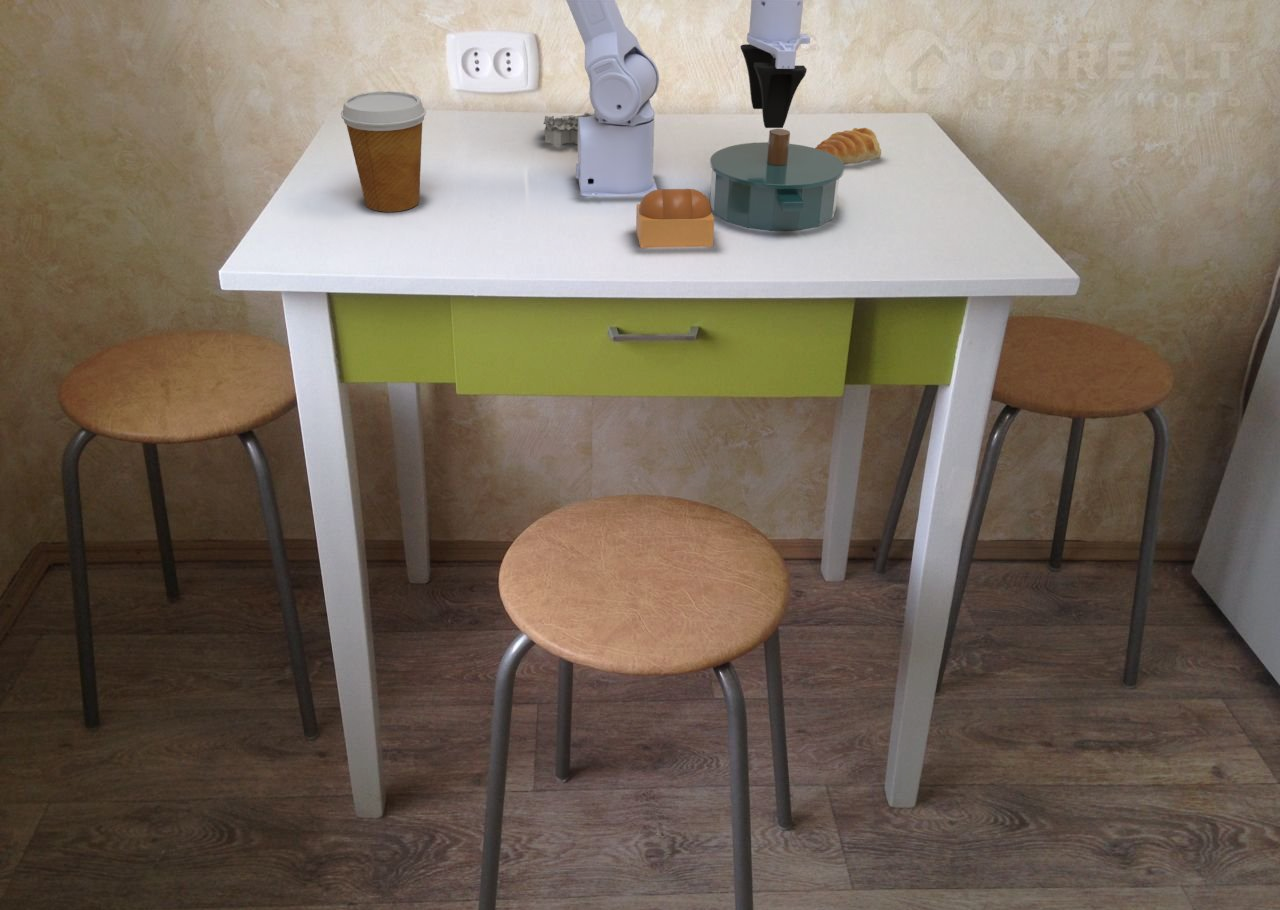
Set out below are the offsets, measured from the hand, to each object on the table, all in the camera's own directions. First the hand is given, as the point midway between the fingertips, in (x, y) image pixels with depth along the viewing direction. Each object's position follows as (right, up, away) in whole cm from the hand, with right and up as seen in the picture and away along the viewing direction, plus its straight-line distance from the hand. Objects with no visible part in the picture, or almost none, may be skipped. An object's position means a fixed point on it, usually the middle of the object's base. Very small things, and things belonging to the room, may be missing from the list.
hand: (767, 117), depth 133 cm
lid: (+1, -6, 0) cm, 6 cm away
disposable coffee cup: (-44, -9, +3) cm, 45 cm away
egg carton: (-23, +4, +25) cm, 34 cm away
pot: (+1, -10, +3) cm, 11 cm away
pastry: (+13, 0, +20) cm, 24 cm away
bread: (-11, -16, -6) cm, 20 cm away
